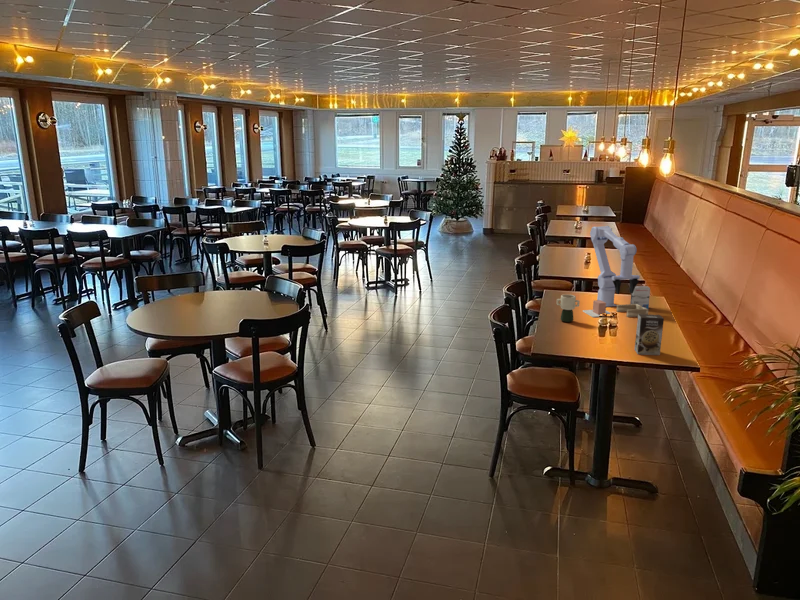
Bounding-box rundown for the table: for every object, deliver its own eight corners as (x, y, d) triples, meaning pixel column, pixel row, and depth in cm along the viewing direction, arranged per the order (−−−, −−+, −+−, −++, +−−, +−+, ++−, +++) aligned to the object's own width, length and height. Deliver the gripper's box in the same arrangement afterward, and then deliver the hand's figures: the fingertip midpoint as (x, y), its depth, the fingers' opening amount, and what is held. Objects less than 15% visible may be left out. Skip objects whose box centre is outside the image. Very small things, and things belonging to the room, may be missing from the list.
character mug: (578, 320, 301) (580, 295, 298) (577, 324, 295) (579, 298, 292) (556, 318, 305) (557, 293, 302) (555, 322, 298) (556, 296, 295)
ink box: (645, 306, 326) (647, 285, 323) (648, 309, 321) (650, 287, 318) (629, 306, 326) (631, 285, 323) (632, 309, 322) (634, 287, 319)
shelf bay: (616, 311, 317) (616, 304, 316) (635, 310, 319) (636, 303, 318) (627, 317, 306) (628, 310, 305) (647, 315, 308) (648, 309, 307)
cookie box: (637, 354, 251) (640, 317, 247) (634, 349, 257) (637, 313, 253) (660, 355, 249) (664, 318, 245) (656, 350, 255) (660, 314, 251)
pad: (582, 311, 318) (582, 310, 317) (603, 310, 319) (603, 309, 319) (593, 317, 306) (593, 316, 306) (614, 316, 308) (615, 315, 308)
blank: (592, 311, 315) (593, 300, 313) (599, 311, 315) (600, 300, 314) (598, 314, 309) (598, 303, 308) (605, 314, 310) (606, 302, 308)
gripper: (617, 269, 306) (615, 295, 310) (643, 268, 308) (641, 294, 312) (610, 267, 313) (608, 292, 316) (636, 266, 315) (634, 291, 318)
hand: (624, 293), depth 314 cm, fingers open, 7 cm apart
